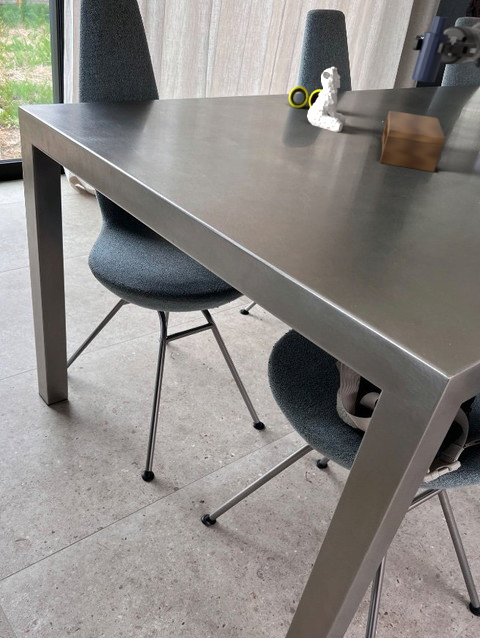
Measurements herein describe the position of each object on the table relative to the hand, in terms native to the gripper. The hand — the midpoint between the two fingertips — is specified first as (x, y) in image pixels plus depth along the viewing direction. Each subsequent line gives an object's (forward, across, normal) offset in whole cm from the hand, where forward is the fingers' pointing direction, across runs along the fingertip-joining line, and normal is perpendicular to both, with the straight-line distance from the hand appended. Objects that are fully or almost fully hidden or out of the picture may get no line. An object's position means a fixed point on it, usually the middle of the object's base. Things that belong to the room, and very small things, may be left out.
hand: (427, 46), depth 120 cm
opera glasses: (-1, +27, -18) cm, 32 cm away
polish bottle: (-3, 0, -7) cm, 7 cm away
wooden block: (+18, -9, -18) cm, 27 cm away
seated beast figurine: (+12, +14, -18) cm, 26 cm away
